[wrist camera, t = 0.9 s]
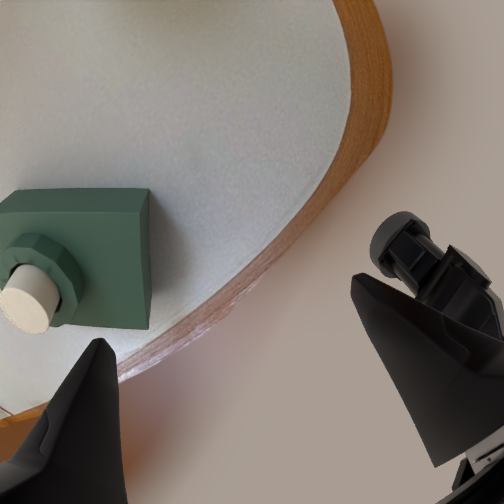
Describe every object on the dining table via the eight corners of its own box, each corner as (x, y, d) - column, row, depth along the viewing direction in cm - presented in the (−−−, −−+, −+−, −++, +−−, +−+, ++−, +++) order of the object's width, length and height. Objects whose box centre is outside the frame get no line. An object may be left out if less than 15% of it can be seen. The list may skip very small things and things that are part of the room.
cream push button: (52, 264, 14) (38, 290, 12) (66, 310, 16) (56, 337, 14) (7, 262, 13) (-9, 285, 11) (23, 306, 15) (12, 330, 13)
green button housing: (149, 188, 19) (135, 227, 14) (151, 295, 24) (147, 347, 19) (14, 190, 16) (-25, 225, 11) (38, 288, 21) (16, 333, 16)
